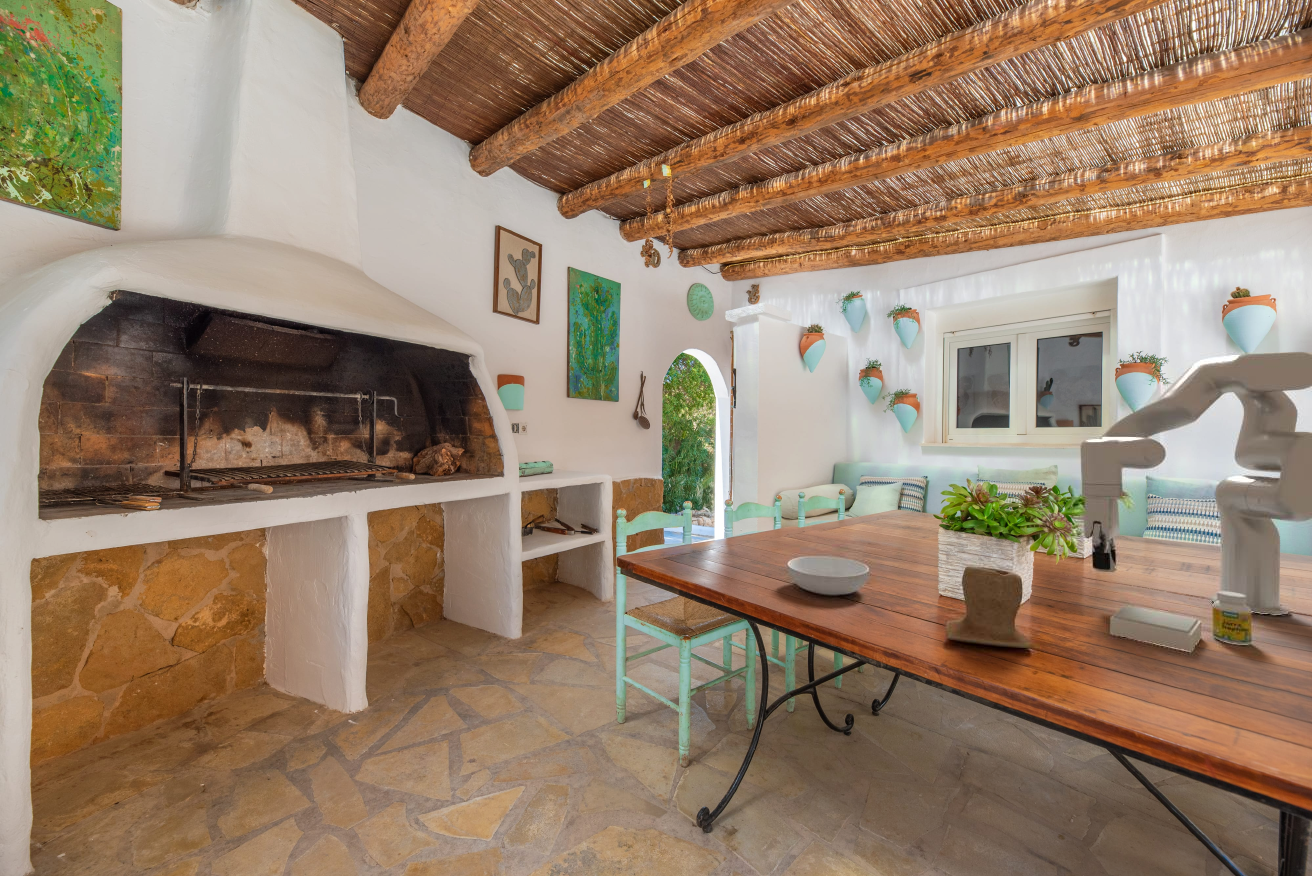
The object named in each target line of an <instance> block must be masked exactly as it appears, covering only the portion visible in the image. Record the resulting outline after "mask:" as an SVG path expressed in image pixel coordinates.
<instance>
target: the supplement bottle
mask: <svg viewBox="0 0 1312 876" xmlns="http://www.w3.org/2000/svg"><path fill="white" fill-rule="evenodd" d="M1216 595H1217V598H1218V599H1219V601H1216V602H1214V603H1213V602H1212V638H1214V637H1215V638H1217V639H1219V640H1222V641H1227V642H1230V643H1237V644H1250V645H1252V640H1253V639H1252V636H1253V635H1252V613H1251V609H1250V608H1249V607H1248V606H1246V605H1244V604H1245V603H1246V596H1245V595H1243V594H1239V593H1235V592H1227V591H1220V590H1218V591H1217V593H1216ZM1215 638H1214V639H1215Z"/></svg>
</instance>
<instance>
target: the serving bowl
mask: <svg viewBox="0 0 1312 876" xmlns="http://www.w3.org/2000/svg"><path fill="white" fill-rule="evenodd" d="M786 568H787V572H788V575H789V576H790V579H791V580H792V582H793V583H795V585H796V586H798V587H800V588H801V589H803V590H806V591H808V592H811V593H815V594H818V595H823V596H840V595H847V594H852V593H854V592H855V593H856V592H857V591H858V590H861V589H862V588H863V586H865V584H866V583H867V581H868V578H869V575H870V573H869V572H870V568H869V566H868V565H866V564H865V563H862V562H860V561H857V560H853V559H849V558H843V557H837V556H836V557H835V556H827V555H826V556H825V555H824V556H823V555H822V556H821V555H812V556H811V555H809V556H801V557H800V556H799V557H794V558H792V559H790V560H788V562H787V567H786Z"/></svg>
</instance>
